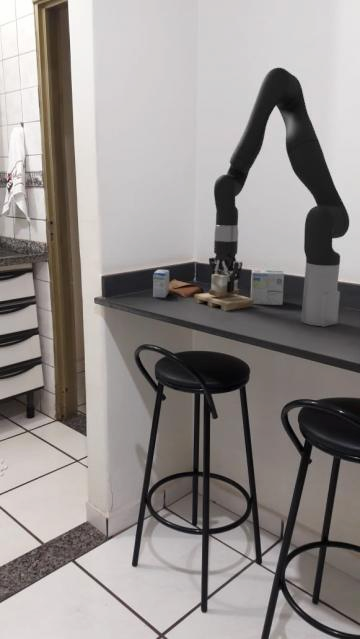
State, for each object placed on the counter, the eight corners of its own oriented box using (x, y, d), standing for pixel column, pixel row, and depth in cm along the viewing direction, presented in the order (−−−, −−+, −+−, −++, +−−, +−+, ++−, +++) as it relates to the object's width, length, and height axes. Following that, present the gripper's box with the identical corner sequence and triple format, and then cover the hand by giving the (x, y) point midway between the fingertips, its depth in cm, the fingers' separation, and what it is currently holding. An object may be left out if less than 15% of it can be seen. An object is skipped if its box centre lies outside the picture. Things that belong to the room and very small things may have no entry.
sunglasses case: (155, 289, 192) (163, 273, 193) (168, 297, 197) (176, 281, 198) (185, 298, 179) (193, 280, 179) (198, 306, 183) (206, 289, 184)
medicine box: (156, 292, 187) (157, 269, 185) (169, 293, 186) (169, 269, 184) (152, 297, 179) (152, 272, 177) (165, 297, 179) (165, 273, 177)
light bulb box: (281, 301, 177) (283, 270, 174) (282, 305, 171) (285, 273, 168) (249, 300, 178) (251, 269, 175) (250, 304, 172) (252, 272, 169)
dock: (253, 306, 168) (253, 299, 167) (226, 311, 161) (226, 303, 160) (220, 297, 180) (221, 290, 180) (194, 301, 173) (194, 294, 173)
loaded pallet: (239, 293, 171) (240, 274, 169) (219, 297, 165) (220, 276, 163) (228, 291, 174) (229, 272, 173) (208, 294, 169) (209, 274, 167)
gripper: (250, 240, 162) (247, 293, 166) (220, 236, 173) (218, 286, 177) (232, 241, 158) (230, 296, 162) (202, 237, 169) (201, 288, 173)
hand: (224, 290), depth 170 cm, fingers closed on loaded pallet, 5 cm apart
